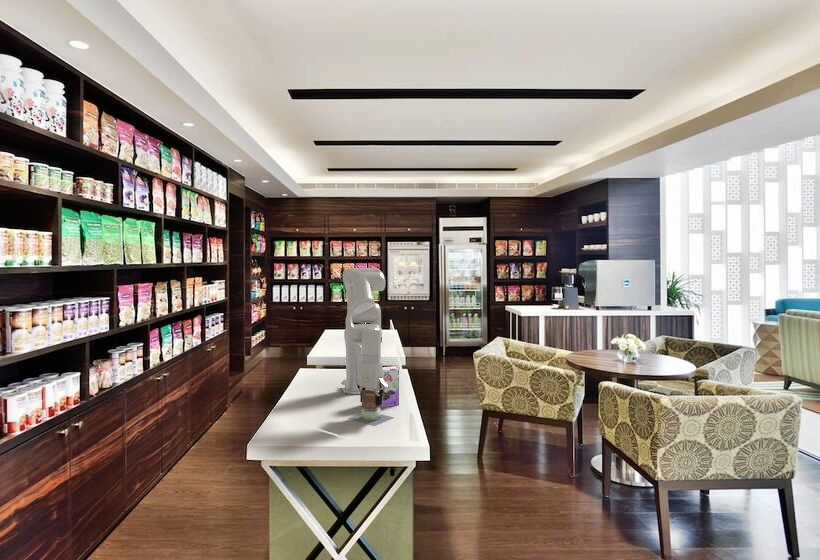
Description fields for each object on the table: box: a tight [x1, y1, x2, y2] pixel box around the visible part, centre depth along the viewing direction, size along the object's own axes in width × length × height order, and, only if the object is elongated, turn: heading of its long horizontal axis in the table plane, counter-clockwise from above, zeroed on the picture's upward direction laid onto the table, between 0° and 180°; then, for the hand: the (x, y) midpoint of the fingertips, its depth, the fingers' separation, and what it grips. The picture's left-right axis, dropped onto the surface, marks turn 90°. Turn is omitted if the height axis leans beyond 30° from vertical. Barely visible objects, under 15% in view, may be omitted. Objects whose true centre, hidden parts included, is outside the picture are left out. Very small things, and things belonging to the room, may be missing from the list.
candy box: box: [366, 366, 400, 408], centre depth 200 cm, size 14×6×16 cm, turn 105°
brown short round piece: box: [361, 389, 381, 409], centre depth 183 cm, size 7×7×6 cm
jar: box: [360, 407, 382, 421], centre depth 183 cm, size 8×8×7 cm
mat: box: [347, 413, 395, 427], centre depth 183 cm, size 14×12×1 cm
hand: (371, 403), depth 183 cm, fingers closed on brown short round piece, 7 cm apart
